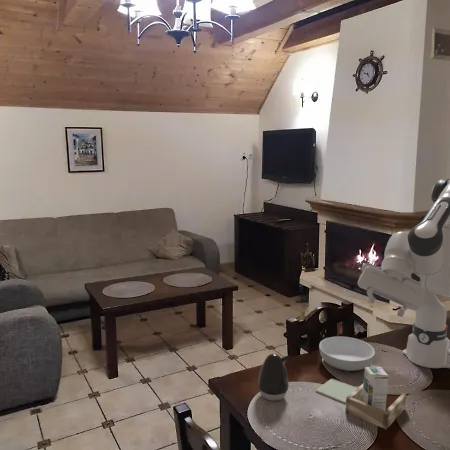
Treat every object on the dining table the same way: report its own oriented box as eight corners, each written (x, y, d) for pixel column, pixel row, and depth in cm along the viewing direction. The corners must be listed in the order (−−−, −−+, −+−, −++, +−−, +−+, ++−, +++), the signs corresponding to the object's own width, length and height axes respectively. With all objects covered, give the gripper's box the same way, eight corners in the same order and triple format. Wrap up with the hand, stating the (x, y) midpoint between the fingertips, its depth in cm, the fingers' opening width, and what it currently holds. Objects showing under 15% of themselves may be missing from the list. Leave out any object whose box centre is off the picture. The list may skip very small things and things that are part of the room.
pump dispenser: (292, 403, 151) (294, 360, 148) (262, 406, 149) (263, 362, 146) (283, 387, 161) (284, 346, 158) (254, 389, 159) (255, 348, 156)
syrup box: (360, 407, 149) (363, 366, 146) (378, 407, 149) (381, 365, 147) (367, 418, 143) (370, 375, 141) (385, 417, 144) (389, 374, 141)
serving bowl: (311, 369, 174) (312, 352, 173) (326, 348, 192) (327, 332, 191) (368, 383, 164) (369, 365, 163) (378, 359, 183) (379, 343, 181)
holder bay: (365, 393, 157) (366, 380, 156) (404, 408, 148) (406, 394, 148) (345, 411, 146) (346, 397, 146) (386, 429, 138) (387, 414, 137)
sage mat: (331, 379, 166) (331, 378, 166) (360, 390, 159) (360, 389, 159) (315, 391, 158) (315, 390, 158) (345, 403, 151) (345, 402, 151)
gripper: (367, 256, 148) (357, 290, 140) (428, 281, 146) (422, 318, 138) (359, 265, 153) (350, 299, 145) (419, 290, 151) (412, 326, 143)
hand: (385, 309), depth 142 cm, fingers open, 8 cm apart
